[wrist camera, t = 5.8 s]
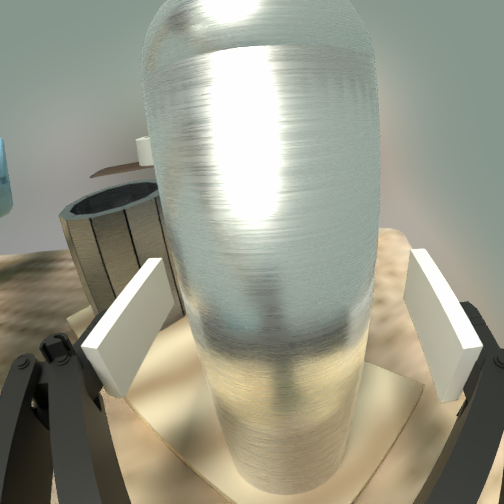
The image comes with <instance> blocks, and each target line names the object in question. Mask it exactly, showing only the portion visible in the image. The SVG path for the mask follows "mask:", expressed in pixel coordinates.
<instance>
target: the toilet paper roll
mask: <svg viewBox="0 0 504 504" xmlns="http://www.w3.org/2000/svg"><path fill="white" fill-rule="evenodd" d="M136 147H137V153H138V159H139V164H140V166H152V165H154V163H153V157H152V151H151V145H150V139H149V136H146V137H142V138H139V139H136Z"/></svg>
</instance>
